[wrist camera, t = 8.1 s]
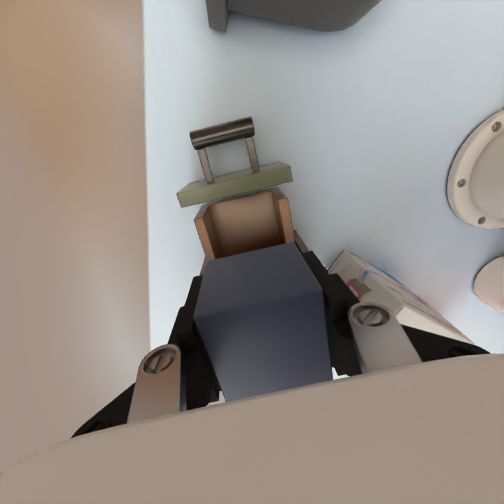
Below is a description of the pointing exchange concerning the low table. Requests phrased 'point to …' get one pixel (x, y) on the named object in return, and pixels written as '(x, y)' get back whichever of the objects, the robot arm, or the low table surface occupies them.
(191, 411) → the robot arm
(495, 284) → the water bottle
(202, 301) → the block
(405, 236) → the low table surface
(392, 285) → the ink box
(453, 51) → the low table surface
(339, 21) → the light fixture
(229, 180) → the drawer
